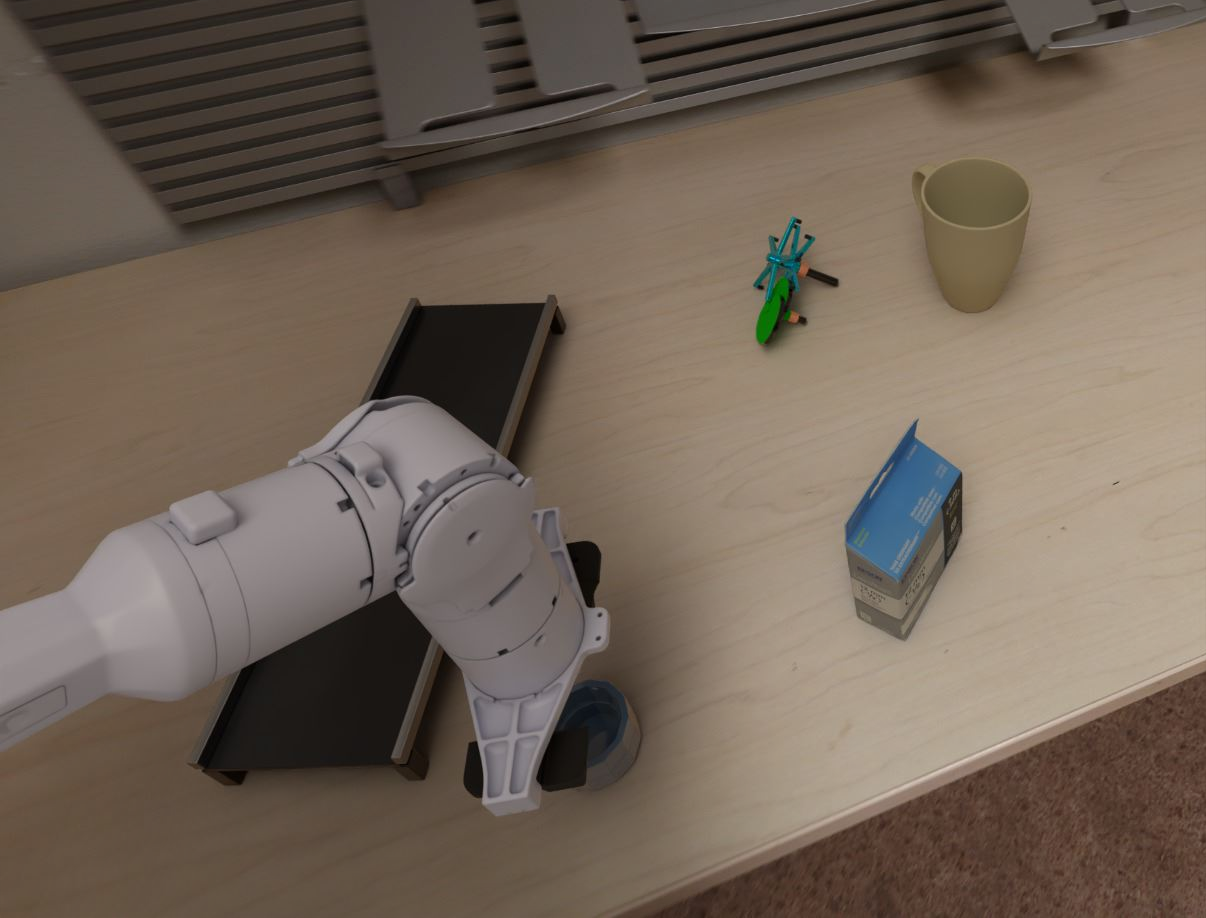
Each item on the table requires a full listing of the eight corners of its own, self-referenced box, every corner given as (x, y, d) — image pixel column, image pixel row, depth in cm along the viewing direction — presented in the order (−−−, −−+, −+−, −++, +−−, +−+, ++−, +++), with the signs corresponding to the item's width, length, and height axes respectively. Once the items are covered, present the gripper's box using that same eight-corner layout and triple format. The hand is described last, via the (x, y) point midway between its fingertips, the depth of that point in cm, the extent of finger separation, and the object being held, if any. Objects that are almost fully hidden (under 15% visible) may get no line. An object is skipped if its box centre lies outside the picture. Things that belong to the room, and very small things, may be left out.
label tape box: (904, 645, 62) (901, 554, 53) (851, 615, 63) (840, 522, 54) (963, 536, 67) (970, 438, 58) (913, 512, 69) (912, 412, 60)
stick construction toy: (756, 232, 87) (795, 199, 81) (822, 258, 90) (864, 228, 84) (731, 352, 81) (771, 326, 75) (802, 375, 84) (846, 352, 78)
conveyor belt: (426, 780, 56) (400, 758, 53) (222, 785, 56) (185, 763, 53) (567, 325, 82) (555, 294, 79) (428, 328, 82) (410, 297, 79)
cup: (596, 812, 55) (578, 791, 52) (540, 757, 57) (521, 734, 54) (658, 737, 58) (645, 713, 55) (603, 688, 60) (588, 663, 57)
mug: (1029, 259, 87) (1041, 158, 79) (1012, 339, 80) (1023, 237, 72) (915, 240, 89) (914, 139, 81) (888, 316, 82) (884, 215, 74)
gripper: (571, 750, 39) (640, 840, 48) (596, 453, 49) (649, 575, 58) (393, 781, 38) (498, 866, 47) (456, 473, 48) (532, 593, 58)
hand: (573, 707), depth 53 cm, fingers open, 7 cm apart
